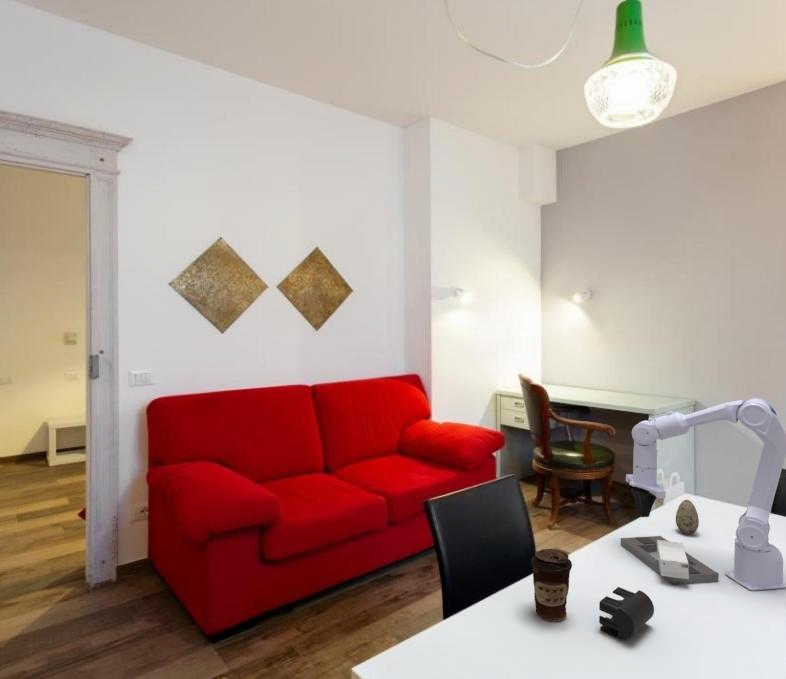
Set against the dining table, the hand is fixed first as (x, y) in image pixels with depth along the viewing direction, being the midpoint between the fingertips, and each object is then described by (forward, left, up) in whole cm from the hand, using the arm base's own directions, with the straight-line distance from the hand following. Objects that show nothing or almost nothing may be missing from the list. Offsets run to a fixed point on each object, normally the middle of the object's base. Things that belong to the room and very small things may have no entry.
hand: (644, 516), depth 139 cm
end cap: (+24, +31, -11) cm, 41 cm away
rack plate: (-3, +5, -10) cm, 12 cm away
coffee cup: (+37, +24, -11) cm, 45 cm away
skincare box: (-3, +6, -6) cm, 9 cm away
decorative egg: (-21, -11, -11) cm, 26 cm away
